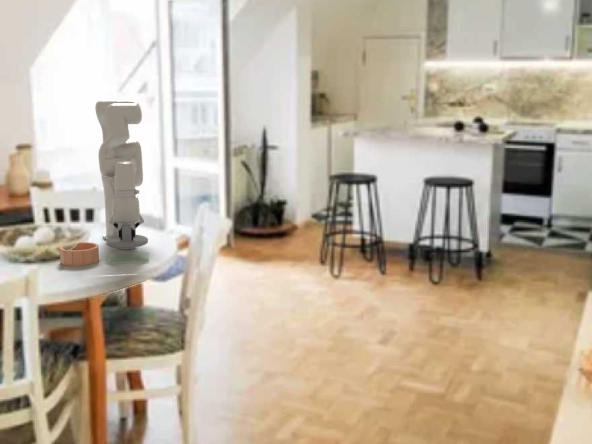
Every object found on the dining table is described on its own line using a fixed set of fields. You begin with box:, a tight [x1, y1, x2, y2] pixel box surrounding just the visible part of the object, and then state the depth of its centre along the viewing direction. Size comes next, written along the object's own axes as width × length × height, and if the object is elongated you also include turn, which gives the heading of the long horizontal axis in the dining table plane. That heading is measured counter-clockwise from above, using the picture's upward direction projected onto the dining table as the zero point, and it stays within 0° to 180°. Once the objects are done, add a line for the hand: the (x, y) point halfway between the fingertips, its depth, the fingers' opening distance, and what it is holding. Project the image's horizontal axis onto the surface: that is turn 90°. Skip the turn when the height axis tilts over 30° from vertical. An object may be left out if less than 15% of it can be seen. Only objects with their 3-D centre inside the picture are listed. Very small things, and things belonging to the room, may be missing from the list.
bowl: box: [59, 241, 100, 267], centre depth 280 cm, size 14×14×6 cm
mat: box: [105, 251, 150, 265], centre depth 286 cm, size 16×16×1 cm
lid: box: [105, 224, 149, 249], centre depth 285 cm, size 16×16×7 cm
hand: (127, 238), depth 285 cm, fingers closed on lid, 3 cm apart
